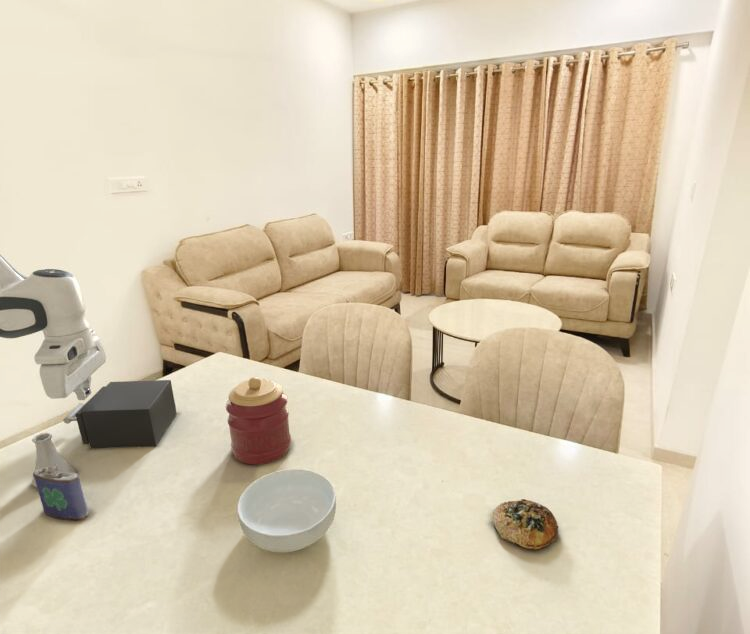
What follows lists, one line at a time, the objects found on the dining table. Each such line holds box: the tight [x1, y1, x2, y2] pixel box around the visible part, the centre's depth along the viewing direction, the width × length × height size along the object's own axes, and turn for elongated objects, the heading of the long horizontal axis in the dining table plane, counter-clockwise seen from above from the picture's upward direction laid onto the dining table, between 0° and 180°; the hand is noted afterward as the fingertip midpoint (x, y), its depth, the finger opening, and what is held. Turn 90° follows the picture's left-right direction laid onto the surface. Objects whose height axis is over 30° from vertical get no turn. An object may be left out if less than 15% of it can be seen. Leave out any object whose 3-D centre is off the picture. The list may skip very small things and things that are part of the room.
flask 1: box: [31, 432, 76, 488], centre depth 101 cm, size 7×7×10 cm
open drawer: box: [62, 385, 107, 445], centre depth 118 cm, size 18×13×8 cm
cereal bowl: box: [236, 468, 337, 554], centre depth 86 cm, size 17×17×7 cm
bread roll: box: [492, 498, 559, 551], centre depth 87 cm, size 11×11×5 cm
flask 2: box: [32, 464, 90, 522], centre depth 90 cm, size 9×3×11 cm, turn 76°
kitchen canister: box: [225, 376, 292, 466], centre depth 108 cm, size 13×13×18 cm
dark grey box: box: [81, 379, 178, 450], centre depth 118 cm, size 15×15×10 cm
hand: (84, 397), depth 116 cm, fingers closed
